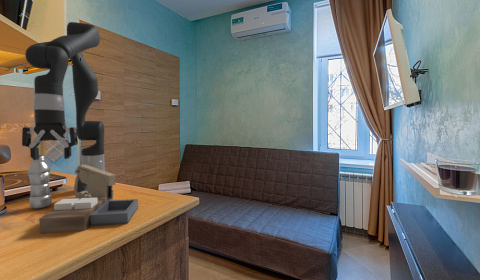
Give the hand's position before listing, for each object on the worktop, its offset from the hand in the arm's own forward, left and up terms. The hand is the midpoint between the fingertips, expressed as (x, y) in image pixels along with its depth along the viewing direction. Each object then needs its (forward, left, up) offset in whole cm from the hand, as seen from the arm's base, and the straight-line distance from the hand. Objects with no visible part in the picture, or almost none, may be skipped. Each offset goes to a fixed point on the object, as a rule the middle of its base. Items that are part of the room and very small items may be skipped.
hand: (51, 159), depth 75 cm
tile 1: (0, +4, -16) cm, 17 cm away
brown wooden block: (0, +7, -21) cm, 22 cm away
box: (-1, +19, -21) cm, 28 cm away
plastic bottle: (-14, -12, -21) cm, 28 cm away
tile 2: (0, +10, -16) cm, 19 cm away
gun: (-18, +5, -21) cm, 28 cm away
